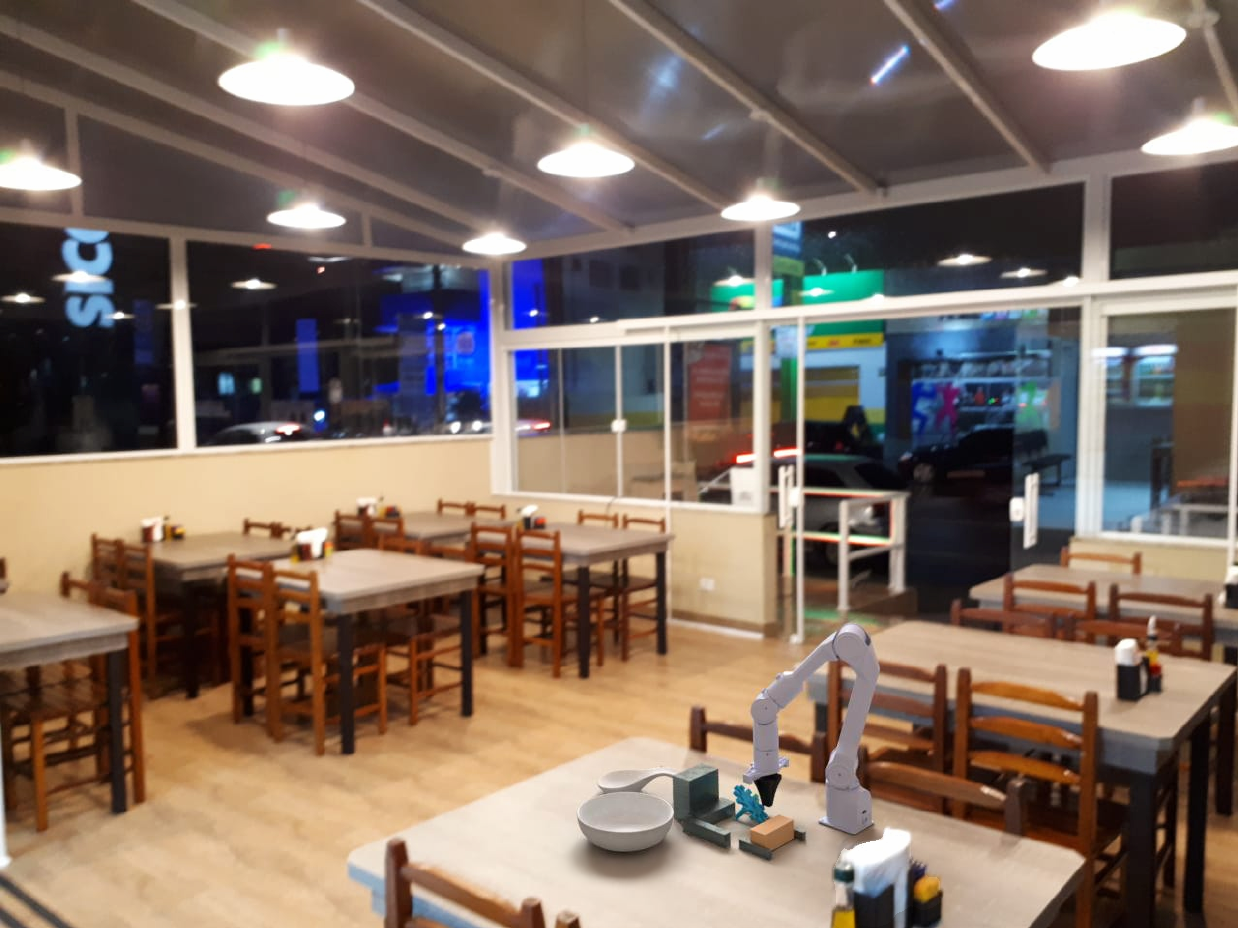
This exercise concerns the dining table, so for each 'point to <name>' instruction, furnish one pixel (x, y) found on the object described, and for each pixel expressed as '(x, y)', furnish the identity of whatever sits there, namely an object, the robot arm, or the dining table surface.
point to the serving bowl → (625, 820)
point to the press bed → (710, 810)
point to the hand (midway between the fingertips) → (767, 805)
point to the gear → (749, 804)
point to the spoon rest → (631, 779)
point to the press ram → (773, 832)
